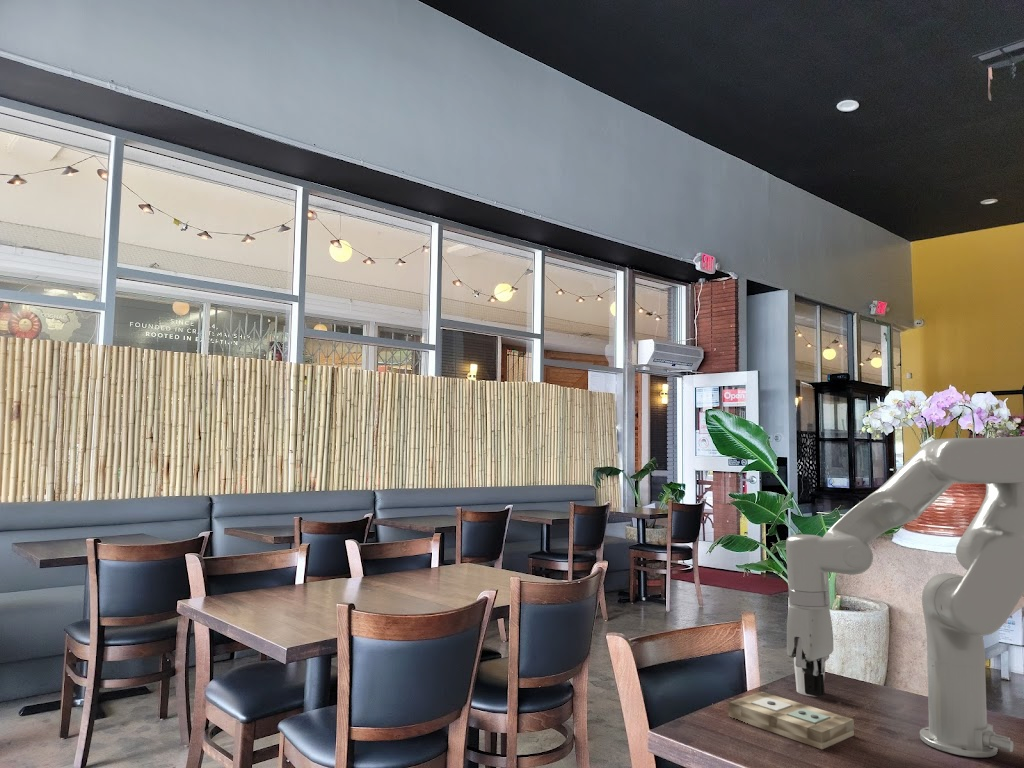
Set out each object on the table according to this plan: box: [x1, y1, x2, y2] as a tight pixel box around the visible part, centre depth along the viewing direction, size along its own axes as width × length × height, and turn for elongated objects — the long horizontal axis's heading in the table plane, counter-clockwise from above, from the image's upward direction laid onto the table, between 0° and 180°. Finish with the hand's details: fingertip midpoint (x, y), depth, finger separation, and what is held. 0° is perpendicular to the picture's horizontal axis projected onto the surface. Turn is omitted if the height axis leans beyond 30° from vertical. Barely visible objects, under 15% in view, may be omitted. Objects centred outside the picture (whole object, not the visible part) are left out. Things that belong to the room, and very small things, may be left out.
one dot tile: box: [751, 697, 791, 712], centre depth 149 cm, size 6×6×2 cm
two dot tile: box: [787, 708, 829, 724], centre depth 143 cm, size 6×6×2 cm
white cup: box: [793, 657, 826, 697], centre depth 168 cm, size 7×7×7 cm
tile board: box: [728, 691, 855, 750], centre depth 146 cm, size 20×12×3 cm, turn 39°
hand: (814, 694), depth 143 cm, fingers closed
